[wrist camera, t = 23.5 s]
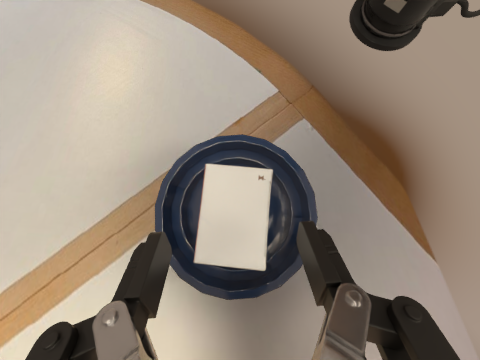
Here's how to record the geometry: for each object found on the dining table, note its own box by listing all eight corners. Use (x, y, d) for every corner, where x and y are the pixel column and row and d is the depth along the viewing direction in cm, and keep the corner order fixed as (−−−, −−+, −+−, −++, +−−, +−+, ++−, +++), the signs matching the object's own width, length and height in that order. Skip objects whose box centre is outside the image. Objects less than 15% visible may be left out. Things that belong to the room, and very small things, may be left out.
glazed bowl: (291, 147, 28) (305, 129, 22) (307, 273, 25) (328, 292, 19) (173, 156, 27) (154, 140, 22) (175, 283, 25) (155, 306, 19)
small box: (219, 180, 26) (204, 159, 16) (261, 184, 26) (274, 166, 16) (211, 242, 25) (190, 264, 15) (255, 247, 25) (266, 272, 14)
